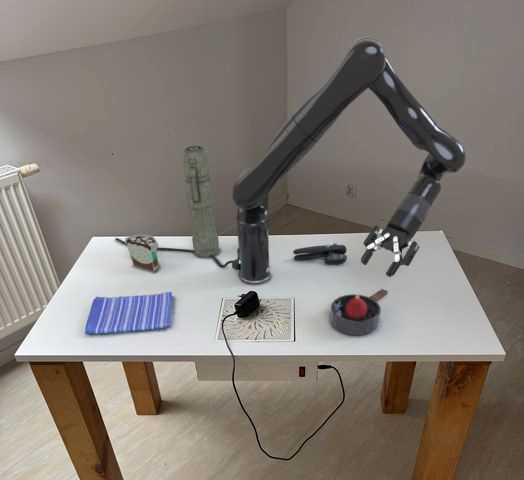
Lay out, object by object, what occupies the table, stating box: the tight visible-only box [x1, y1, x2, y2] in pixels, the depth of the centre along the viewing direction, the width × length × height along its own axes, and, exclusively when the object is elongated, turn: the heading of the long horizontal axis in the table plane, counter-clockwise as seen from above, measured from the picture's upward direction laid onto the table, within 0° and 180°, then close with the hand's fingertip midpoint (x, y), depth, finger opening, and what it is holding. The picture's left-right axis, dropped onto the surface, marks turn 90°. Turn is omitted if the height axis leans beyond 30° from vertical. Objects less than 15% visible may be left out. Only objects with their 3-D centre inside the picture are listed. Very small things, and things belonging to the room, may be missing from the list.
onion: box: [345, 294, 367, 321], centre depth 129 cm, size 6×6×8 cm
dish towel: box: [84, 291, 174, 335], centre depth 138 cm, size 17×24×3 cm
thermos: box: [182, 145, 220, 259], centre depth 156 cm, size 9×12×35 cm
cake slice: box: [124, 233, 159, 274], centre depth 158 cm, size 12×6×10 cm, turn 58°
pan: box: [329, 294, 382, 336], centre depth 130 cm, size 13×13×5 cm
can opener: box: [292, 243, 348, 266], centre depth 158 cm, size 18×7×6 cm, turn 81°
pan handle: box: [368, 288, 389, 303], centre depth 135 cm, size 7×2×2 cm, turn 133°
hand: (375, 269), depth 126 cm, fingers open, 8 cm apart
